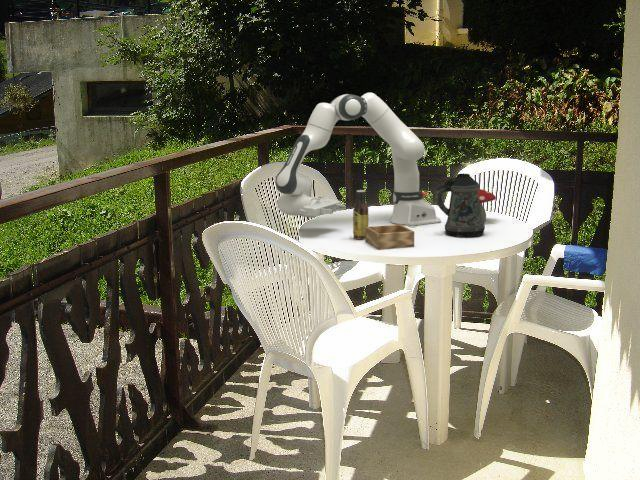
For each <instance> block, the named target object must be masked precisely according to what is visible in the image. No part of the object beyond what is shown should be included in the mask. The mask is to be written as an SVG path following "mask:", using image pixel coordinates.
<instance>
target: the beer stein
mask: <svg viewBox="0 0 640 480" xmlns="http://www.w3.org/2000/svg"><path fill="white" fill-rule="evenodd" d="M480 187H481V186H480V183H479V182H477V181H476V180H475V179H473V177H472V176H471V175H470V174H469V173H457V174H456V176H454V177H451V178H446V179H445V180H444V184H442V185H440V186H439V187H437V188H436V192H435V201H436V205H438V207H439V209H440V210H441V211H442V212H443V213H444V214H445V215H446V216H447V219H446V222H445V223H444V230H445V235H446V236H449V237H453V238H461V239H473V238H479V237H482V235H483V236H484V232H485V228H486V225H485V223H484V222H483V220H482V216H481V210H480V203H479V196H478V190H479V189H480ZM445 192H447V193H449V192H450V200H449V205H448V206H449V207H447V206H446V205H445V203H444V202H443V200H442V194H443V193H445Z"/></svg>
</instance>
